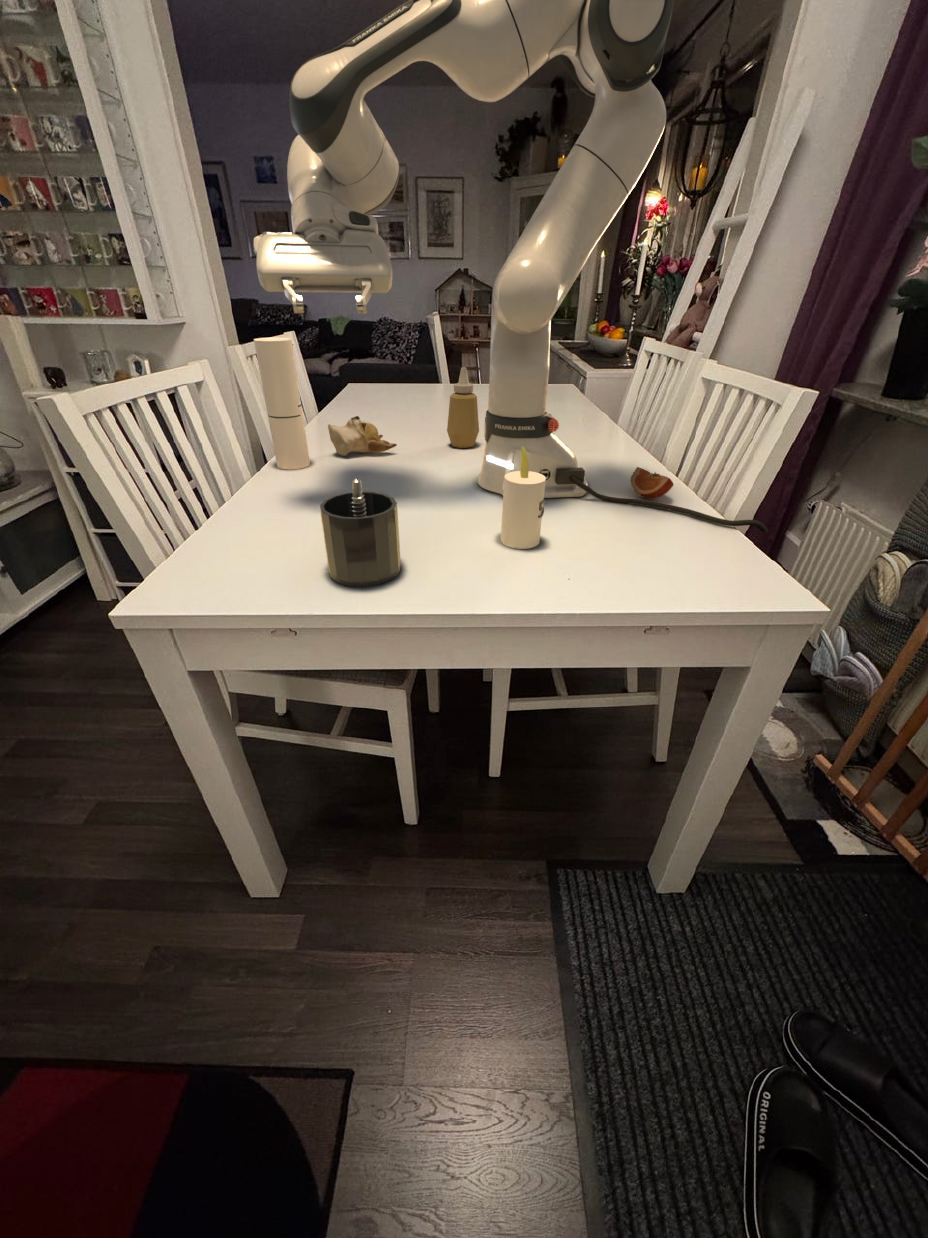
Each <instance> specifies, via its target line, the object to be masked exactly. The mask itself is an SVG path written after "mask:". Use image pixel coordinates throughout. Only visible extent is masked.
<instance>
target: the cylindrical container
mask: <svg viewBox="0 0 928 1238" xmlns="http://www.w3.org/2000/svg"><path fill="white" fill-rule="evenodd" d="M253 344H254V348H255V354H256V359H257V366H258V370H259V376H260V381H261V385H262V386H261V387H262V392H263V397H264V398H263V399H264V403H265V409H266V413H267V419H268V425H269V429H270V435H271V440H272V445H273V450H274V451H273V452H274V457H275V462H276V467H277V468H279V469H282V470H288V471H289V470H300V469H305V468H307V467H309V466H310V465H311V461H310V454H309V449H308V448H309V447H308V441H307V434H306V429H305V428H306V427H305V420H304V414H303V406H302V401H301V395H300V387H299V382H298V381H299V380H298V374H297V367H296V361H295V355H294V349H293V348H294V347H293V341H292V338H290V337H276V336H275V337H258V338H253Z"/></svg>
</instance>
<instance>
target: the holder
mask: <svg viewBox="0 0 928 1238" xmlns="http://www.w3.org/2000/svg"><path fill="white" fill-rule="evenodd" d="M362 493H363V494H364V497H363V498H365V501H364V502H365V503H366V505H365V507H366V509H365V510H366V515H367V516H364V517H354V516H353V514H354V512H353V510H354V508H353V507H352V506H353V503H352V502H353V499H352V497H353V492H352V491H346V492H342V493H338V494H334V495H331V496H329V497H327V498H325V499H323V500H322V501H321V503H320V504H319V505H318V506H319V512H320V520H321V526H322V533H323V534H322V535H323V539H324V546H325V554H326V561H327V567H328V572H329V576H330V577H331V579H332V580H333V581H335V582H337V583H338V584H341V585H344V586H348V587H355V588H357V587H358V588H359V587H360V588H363V587H373V586H378V585H382V584H385V583H387V582H390V581H391V580H394V578H396V577H397V576H398V575H399V573H400V571H401V564H402V563H401V545H400V532H399V513H398V502H397V500H396V498H394V497H393V496H391V495H389V494H387V493H383V492H378V491H372V490H371V491H370V490H369V491H368V490H362Z"/></svg>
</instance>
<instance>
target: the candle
mask: <svg viewBox="0 0 928 1238" xmlns="http://www.w3.org/2000/svg"><path fill="white" fill-rule="evenodd" d="M545 481H546V477H545V476H544V475H542V474H540V473H536V472H531V471H529V463H528V456H527V452H526V450H525V448H524V447H523V446H522V448H521V465H520V471H514V472H509V473H507V474H506V475H505V477H504V493H503V495H502V497H503V498H502V511H501V513H502V514H501V528H500V529H501V531H500V541H501V543H502V544H503V545H504V546H506V547H508V548H512V549H518V550H528V549H532V548H535V547H538V545H539V544H540V539H541V529H542V519H543V516H544V513H545V507H544V504H545V503H546V500H545V498H544V491H545Z"/></svg>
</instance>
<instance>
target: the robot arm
mask: <svg viewBox="0 0 928 1238" xmlns="http://www.w3.org/2000/svg"><path fill="white" fill-rule="evenodd" d="M673 7H674V0H407V1H406V2H403V3H402V4H401V5H399V6H397V7H396V8H394V9H393V10H392V11H390V12H388V13H387V14H386V15H384V16H382V17H381V18H379V19H378V20H377V21H374V22H373V23H372V24H370V25H368V26H367V27H366V28H364V29H363V30H361V31H360V32H358V33H357V34H355V35H354V36H352V37H350V38H349V39H347V40H346V41H344V42H343V43H342V44H340V45H338V46H336V47H334V48H331V49H329V50H326V51H324V52H321V53H319V54H316V55H315V56H312V57H311V58H309V59H307V60H306V61H305V62H303V63H302V64H301V65H300V66H299V67H298V68H297V70H296V71H295V72H294V74H293V76H292V79H291V81H290V85H289V113H290V120H291V125H292V128H293V129H294V131H295V132H296V133H297V135H296V136H295V138H294V139H293V140H292V142H291V145H290V148H289V152H288V157H287V167H286V169H287V170H286V176H287V188H288V191H287V192H288V196H289V197H288V198H289V201H290V204H291V209H290V218H291V228H292V231H291V232H290V231H278V232H275V231H274V232H272V231H267V230H266V231H263V232H262V234H258V235H257V236H255V237H254V238H253V242H252V243H253V252H254V254H255V255H256V272H257V277H258V282H259V284H260V286H261V287H262V288H263V289H264V290H265V291H266V292H270V293H272V292H273V293H276V292H277V293H284V295H285V297H286V298H287V300H288V301H289V302H290V303H291V304H292V309H293V313H294V314H305V308H304V307H305V305H304V300H303V296H302V295H299V294H297V293H359V294H360V293H361V295H355V306H356V307H355V308H356V313H357V314H367V313H368V312H367V311H368V306H367V305H368V303H369V302H370V300H371V298H372V294H387V293H388V292H390V290H391V289H392V287H393V267H392V266H393V265H392V262H391V257H390V254H389V250H388V247H387V245H386V244H387V243H386V242H385V241H384V239H383V238H382V236H381V235H380V234H379V224H378V220H377V219H376V217H375V216H373V215H374V214H376V213H378V212H379V211H381V210H382V209H384V208H385V207H386V206H387V205H388V204H389V203H390V201H391V200H392V198H393V196H394V194H395V192H396V190H397V187H398V183H399V179H400V162H399V159H398V157H397V155H396V154H395V152H394V149H393V148H392V146H391V145H390V143H389V141H388V139H387V137H386V136H385V134H384V132H383V130H382V129H381V127H380V126H379V124H378V122H377V121H376V119H375V117H374V115H373V113H372V112H371V109H370V108H369V107H368V104H367V103H366V101H365V96H366V94H367V93H368V92H370V91H371V90H373V89H374V88H376V87H377V86H379V85H380V84H382V83H383V82H385V81H387V80H388V79H390V78H391V77H393V76H394V75H396V74H398V73H400V72H401V71H402V70H403V69H405V68H407V67H408V66H410V65H411V64H413V63H417V62H427V63H431V64H433V65H435V66H436V67H438V68H439V69H440V70H442V71H443V72H444V73H445V74H446V75H447V76H448V77H449V78H450V80H451V81H453V82H454V83H455V84H456V86H457V87H458V88H459V89H460V90H462V91H463V92H464V93H465V94H466V95H468V96H469V97H471V98H472V99H475V100H477V101H480V102H483V103H495V102H498V101H500V100H502V99H504V98H506V97H508V96H509V95H510V94H512V93H513V92H514V91H515V90H517V88H519V87H520V86H521V85H522V84H524V82H526V81H527V80H528V79H529V78H530V77H531V76H532V75H533V74H535V73H536V72H537V71H538V70H539V69H540V68H541V67H542V66H543V65H545V64H546V63H547V62H549V61H550V60H552V59H554V58H555V57H558V59H559V61H560V63H561V64H562V65H563V66H564V68H565V69H566V70H567V72H568V74H570V75H571V77H572V79H573V80H574V82H575V84H576V85H577V86H578V87H579V89H580V90H581V92H583V93H584V94H585V95H587V96H589V97H591V98H594V104H593V108H592V111H591V114H590V116H589V118H588V121H587V123H586V124H585V126H584V128H583V130H582V131H581V133H580V134H579V136H578V138H577V139H576V141H575V142H574V144H573V146H572V148H571V150H570V151H569V153H568V154H567V156H566V157H565V159H564V161H563V163H562V165H561V166H560V168H559V170H558V172H557V173H556V174H555V176H554V178H553V180H552V181H551V183H550V185H549V187H548V188H547V190H546V191H545V194H544V195H543V197H542V198H541V200H540V202H539V203H538V205H537V207H536V208H535V210H534V213H533V214H532V215H531V217H530V219H529V221H528V223H527V224H526V226H525V227H524V229H523V231H522V233H521V235H520V236H519V238H518V239H517V241H516V243H515V245H514V247H513V248H512V250H511V252H510V253H509V254H508V257H507V258H506V261H505V262H504V263H503V265H502V266H501V268H500V270H499V271H498V273H497V274H496V276H495V279H494V282H493V285H492V293H491V295H492V296H491V321H490V346H489V347H490V349H489V350H490V351H489V375H488V376H489V379H488V404H487V405H488V406H487V410H486V411H485V417H484V440H485V446H484V452H483V460H482V465H481V469H480V473H479V476H478V478H477V484H478V485H479V486H480V487H481V488H483V489H484V490H485V491H486V490H487V491H489V492H493V493H496V494H498V495H501V496H503V493H504V477H505V475H506V474H507V473H509V472H514V471H520V465H521V448H522V446H523V447H524V448H525V450H526V452H527V456H528V463H529V471H531V472H536V473H540V474H542V475H544V476H545V477H546V481H545V491H544V499H551V498H553V499H554V498H579V497H580V498H581V497H583V496H585V495H586V494H587V493H588V494H590V495H591V496H592V497H594V498H596V499H597V500H598V499H599V500H601V501H605V502H608V503H617V504H632V505H639V506H645V507H651V508H657V509H662V510H667V511H670V512H671V511H672V512H676V513H679V514H680V513H681V514H685V515H687V516H692V517H694V518H697V519H701V520H704V521H706V522H710V523H713V524H718V525H721V526H725V527H744V526H753V527H756V528H757V529H759V531H760V532H763V533H769V532H770V531H769V529H768V527H767V526H766V525H765V524H764V523H763V522H761V521H759V520H756V519H739V520H731V519H725V518H719V517H716V516H712V515H710V514H706V513H703V512H700V511H697V510H693V509H690V508H687V507H686V508H685V507H683V506H677V505H673V504H668V503H663V502H658V501H652V500H646V499H640V498H631V497H615V496H609V495H605V494H601V493H599V492H597V491H596V490H594V489H592V488H591V487H590V486H589V485H588V481H587V479H586V478H585V475H586V470H585V469H584V467H579V464H578V460H577V459H578V458H577V456H576V454H575V452H574V451H573V450H572V448H570V447H569V446H568V445H567V444H566V443H565V442H564V441H563V440H562V439H560V437H558V436H557V435H556V434H555V433H554V432H557V431H558V430H559V428H560V423H559V421H558V419H556V418H555V417H554V416H553V414H552V413H548V412H547V411H546V410H547V409H546V408H547V399H548V387H549V379H550V378H549V377H550V350H551V329H552V328H551V327H552V326H551V325H552V319H553V317H554V316H555V314H556V312H557V311H558V309H559V308H560V306H561V304H562V303H563V302H564V300H565V298H566V297H567V294H568V293H569V291H570V290H571V288H572V286H573V285H574V283H575V281H576V280H577V278H578V276H579V275H580V273H581V271H582V270H583V268H584V266H585V264H586V263H587V261H588V259H589V258H590V256H591V254H592V252H593V250H594V249H595V247H596V246H597V244H598V243H599V241H600V240H601V238H602V236H603V235H604V233H605V232H606V230H607V229H608V227H610V224H611V223H612V221H613V220H614V218H615V217H616V216H617V213H618V212H619V211H620V209H621V208H622V206H623V205H624V203H625V202H626V200H627V199H628V197H629V195H630V194H631V192H632V191H633V189H634V188H635V187H636V185H637V183H638V181H639V180H640V178H641V176H642V174H643V173H644V171H645V169H646V168H647V166H648V164H649V162H650V160H651V158H652V156H653V154H654V152H655V150H656V148H657V145H659V142H660V140H661V137H662V135H663V133H664V130H665V128H666V124H667V108H666V104H665V101H664V98H663V96H662V94H661V92H660V91H659V90H658V88H657V87H656V86H655V84H654V83H653V81H652V79H653V78H654V77H655V76H656V75H657V74H658V72H659V70H660V69H661V65H662V61H663V57H664V56H663V55H664V51H665V46H666V42H667V36H668V31H669V29H670V23H671V20H672V14H673Z"/></svg>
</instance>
